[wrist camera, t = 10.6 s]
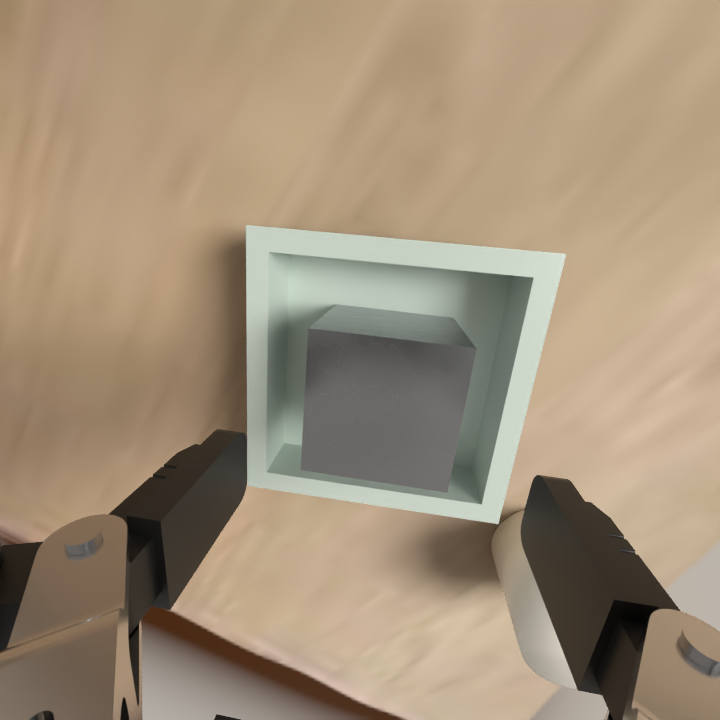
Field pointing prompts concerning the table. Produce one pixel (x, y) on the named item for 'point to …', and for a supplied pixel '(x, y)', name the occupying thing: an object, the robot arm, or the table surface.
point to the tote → (405, 294)
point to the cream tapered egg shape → (528, 605)
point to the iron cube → (385, 396)
